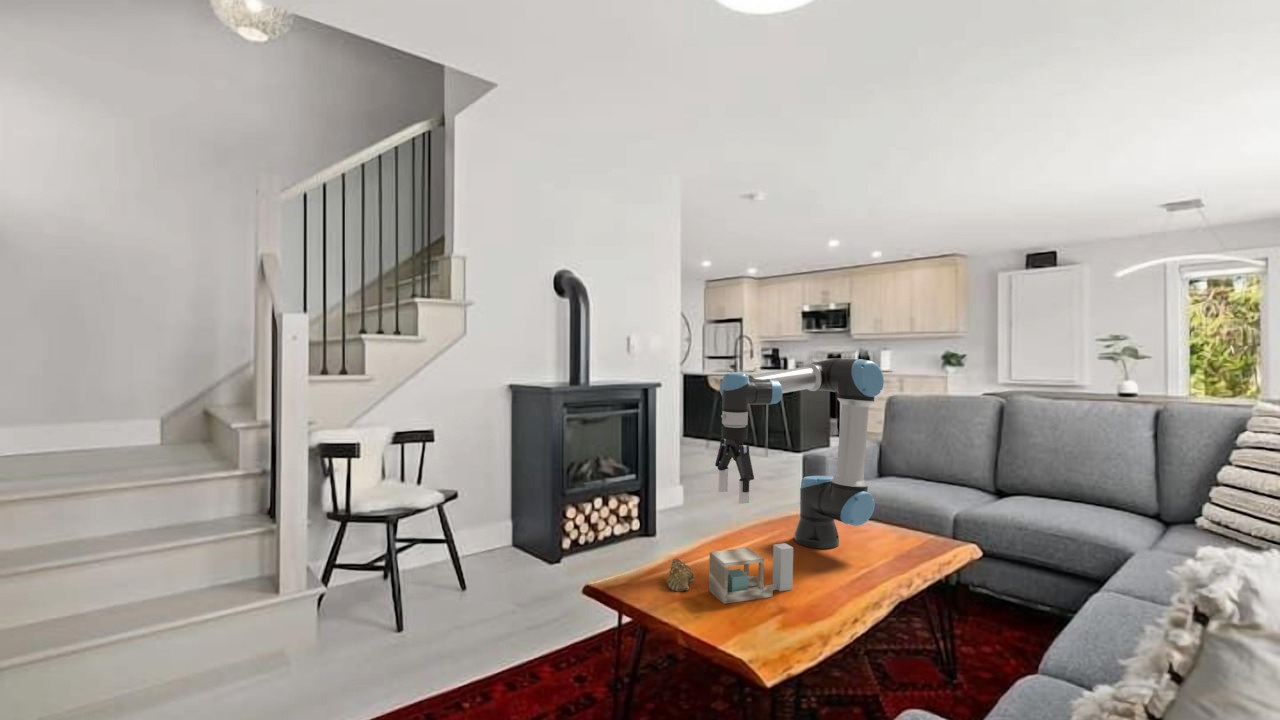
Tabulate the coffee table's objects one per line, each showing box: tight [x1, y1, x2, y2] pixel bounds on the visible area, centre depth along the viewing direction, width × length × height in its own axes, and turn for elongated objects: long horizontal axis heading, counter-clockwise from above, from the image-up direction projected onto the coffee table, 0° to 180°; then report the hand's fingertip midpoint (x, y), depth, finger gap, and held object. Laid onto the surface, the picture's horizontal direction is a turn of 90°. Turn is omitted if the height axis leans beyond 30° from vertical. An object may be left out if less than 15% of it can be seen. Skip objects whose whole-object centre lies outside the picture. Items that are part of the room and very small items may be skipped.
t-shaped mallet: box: [727, 542, 794, 592], centre depth 172 cm, size 20×5×12 cm, turn 110°
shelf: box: [708, 547, 774, 605], centre depth 170 cm, size 15×9×11 cm, turn 110°
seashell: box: [666, 558, 695, 592], centre depth 177 cm, size 9×8×10 cm
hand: (733, 497), depth 181 cm, fingers open, 13 cm apart
